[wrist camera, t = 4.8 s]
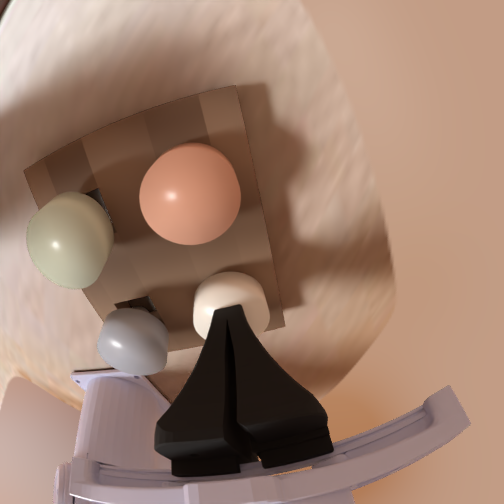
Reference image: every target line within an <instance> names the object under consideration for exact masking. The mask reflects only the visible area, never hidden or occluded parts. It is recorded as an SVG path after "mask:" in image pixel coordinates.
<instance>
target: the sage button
mask: <svg viewBox="0 0 504 504" xmlns="http://www.w3.org/2000/svg"><path fill="white" fill-rule="evenodd" d="M26 240H27V247H28V251H29V254H30V256H31V259H32V261H33V262H34V264H35V266H36V267H37V268H38V270H39V271H40V272H41V273H42V274H43V275H44V276H45V277H46V278H47V279H49V280H50V281H51V282H53V283H55V284H56V285H59V286H61V287H64V288H68V289H82V288H86V287H88V286H90V285H91V284H93V283H94V282H95V281H96V280H97V279H98V277H99V275H100V273H101V271H102V269H103V267H104V265H105V263H106V261H107V259H108V257H109V256H110V254H111V251H112V249H113V245H114V231H113V227H112V223H111V221H110V219H109V217H108V215H107V213H106V212H105V210H104V209H103V208H102V206H101V205H100V204H99V203H98V202H96V201H95V200H94V199H93V198H91V197H89V196H87V195H85V194H83V193H79V192H65V193H62V194H59V195H58V196H56V197H55V198H53V199H52V200H51V201H50V202H49V203H47V204H46V205H45V206H44V207H43V208H41V209H40V210H39V211H38V212H37V213H36V214H35V215H34V216H33V217H32V218H31V220H30V222H29V225H28V228H27V235H26Z"/></svg>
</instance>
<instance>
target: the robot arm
mask: <svg viewBox="0 0 504 504" xmlns="http://www.w3.org/2000/svg"><path fill="white" fill-rule="evenodd" d="M70 377H71V379H72V380H73V381H74V382H75V383H77V384H78V385H79V386H80V387H81V388H82V389H83V390H84V391H85V396H84V401H83V406H82V410H81V416H80V421H79V426H78V432H77V438H76V445H75V453H74V457H72V462H71V463H68V462H64V463H63V464H61V465H58V467H57V470H56V475H55V481H54V491H53V504H355V501H354V498H353V495H352V492H351V491H352V490H355V489H357V488H360V487H362V486H365V485H368V484H370V483H372V482H375V481H377V480H379V479H382V478H384V477H386V476H388V475H390V474H392V473H395V472H397V471H399V470H401V469H403V468H405V467H407V466H409V465H411V464H412V463H414V462H416V461H418V460H419V459H421V458H423V457H425V456H427V455H429V454H430V453H432V452H434V451H435V450H437V449H438V448H440V447H442V446H443V445H445V444H447V443H448V442H450V441H451V440H452V439H454V438H455V437H456V436H457V435H459V434H460V433H461V432H463V431H464V430H465V429H466V428H467V427H469V426H470V424H471V422H470V420H469V418H468V417H467V415H466V413H465V411H464V409H463V407H462V406H461V404H460V402H459V400H458V398H457V397H456V395H455V393H454V392H453V390H452V388H451V386H449V385H448V386H446V387H445V388H443V389H441V390H440V391H438V392H436V393H434V394H433V395H431V396H430V397H428V398H427V399H426V400H425V401H424V403H423V405H421V406H420V407H418V408H416V409H414V410H412V411H410V412H408V413H406V414H404V415H402V416H400V417H398V418H396V419H393V420H391V421H389V422H387V423H385V424H382V425H380V426H378V427H375V428H373V429H370V430H368V431H365V432H363V433H360V434H358V435H355V436H352V437H350V438H347V439H344V440H341V441H338V442H335V443H332V441H331V438H330V435H329V434H330V433H329V430H328V426H327V421H328V417H327V414H326V412H325V410H324V408H323V407H322V406H321V404H320V403H319V402H318V400H317V399H316V398H315V397H314V396H313V394H312V393H310V392H309V391H308V390H306V389H305V388H304V387H302V386H301V385H300V384H299V383H297V382H296V381H295V380H294V379H293V378H292V377H291V376H290V375H288V374H287V373H286V372H285V371H284V370H283V369H282V368H281V367H280V366H279V365H278V364H277V363H276V361H275V360H274V359H273V358H272V357H271V356H270V355H269V353H268V352H267V351H266V350H265V348H264V347H263V346H262V344H261V343H260V341H259V340H258V338H257V337H256V335H255V334H254V332H253V330H252V329H251V327H250V325H249V323H248V321H247V319H246V316H245V313H244V310H243V307H242V305H240V304H237V305H233V306H229V307H225V308H221V309H216V310H214V312H213V316H212V320H211V324H210V328H209V331H208V334H207V337H206V340H205V343H204V346H203V349H202V351H201V354H200V356H199V359H198V361H197V363H196V365H195V367H194V369H193V371H192V373H191V375H190V377H189V379H188V380H187V382H186V384H185V386H184V387H183V389H182V390H181V392H180V393H179V395H178V396H177V398H176V399H175V400H174V402H173V403H172V404H170V403H169V402H168V401H167V400H166V399H165V398H164V397H163V396H162V394H161V393H160V392H159V391H158V390H157V389H156V388H155V387H154V386H153V385H152V384H151V383H150V382H149V381H148V379H147V378H146V377H145V376H144V375H132V374H128V373H125V372H122V371H119V370H117V369H113V370H102V371H90V372H73V373H71V375H70ZM258 456H259V458H260V459H261V461H259V460H258ZM312 465H313V466H312ZM308 466H312V469H310V470H305V471H300V472H295V473H289V474H283V475H276V476H268V475H273V474H278V473H283V472H287V471H292V470H296V469H300V468H304V467H308Z"/></svg>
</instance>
